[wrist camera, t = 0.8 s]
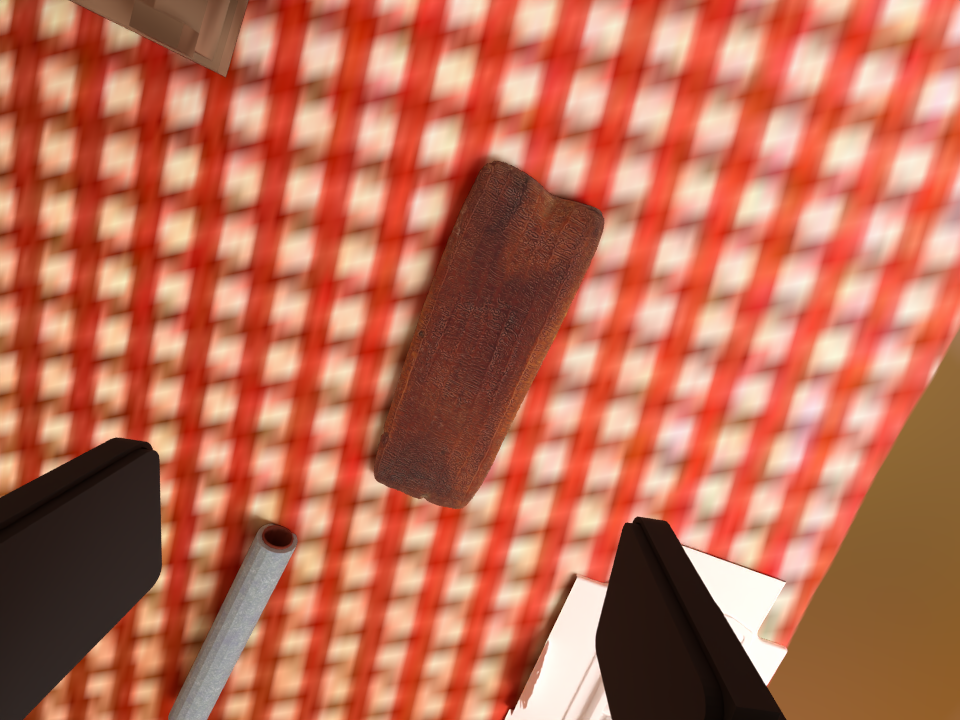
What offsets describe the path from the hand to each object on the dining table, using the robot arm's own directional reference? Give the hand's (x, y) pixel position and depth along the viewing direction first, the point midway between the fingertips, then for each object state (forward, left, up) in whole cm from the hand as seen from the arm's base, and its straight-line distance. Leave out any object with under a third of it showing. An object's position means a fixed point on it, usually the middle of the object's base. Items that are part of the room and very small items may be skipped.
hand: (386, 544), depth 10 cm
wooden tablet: (+2, +7, -28) cm, 29 cm away
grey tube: (+35, -9, -29) cm, 46 cm away
